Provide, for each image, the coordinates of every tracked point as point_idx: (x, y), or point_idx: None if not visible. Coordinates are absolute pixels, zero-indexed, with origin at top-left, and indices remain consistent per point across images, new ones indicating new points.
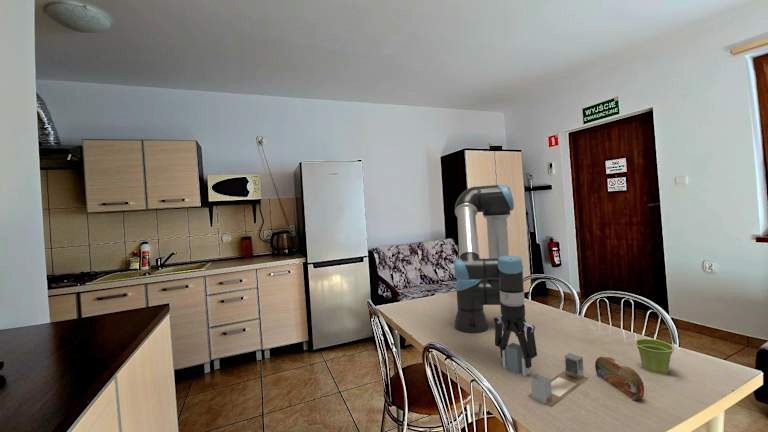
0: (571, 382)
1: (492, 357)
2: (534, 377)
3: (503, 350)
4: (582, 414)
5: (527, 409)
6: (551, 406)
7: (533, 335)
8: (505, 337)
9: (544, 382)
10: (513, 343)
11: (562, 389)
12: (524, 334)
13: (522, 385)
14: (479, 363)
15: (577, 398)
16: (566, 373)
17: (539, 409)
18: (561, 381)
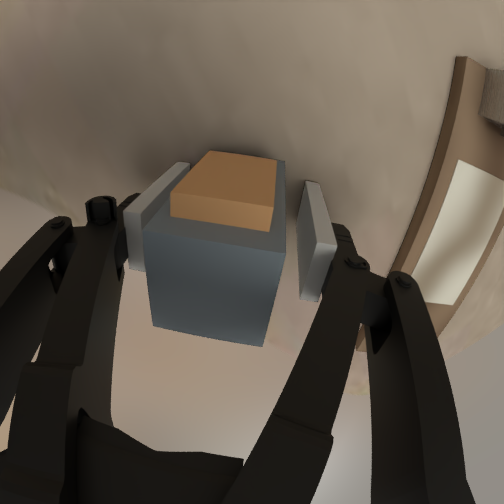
0: (499, 183)
1: (66, 118)
2: None
3: (133, 263)
4: (486, 311)
5: (361, 367)
6: None
7: (450, 456)
8: (111, 369)
9: None
10: (157, 244)
11: (467, 259)
12: (326, 437)
13: None
14: (72, 213)
15: (494, 246)
16: (487, 119)
17: None
18: (468, 196)
